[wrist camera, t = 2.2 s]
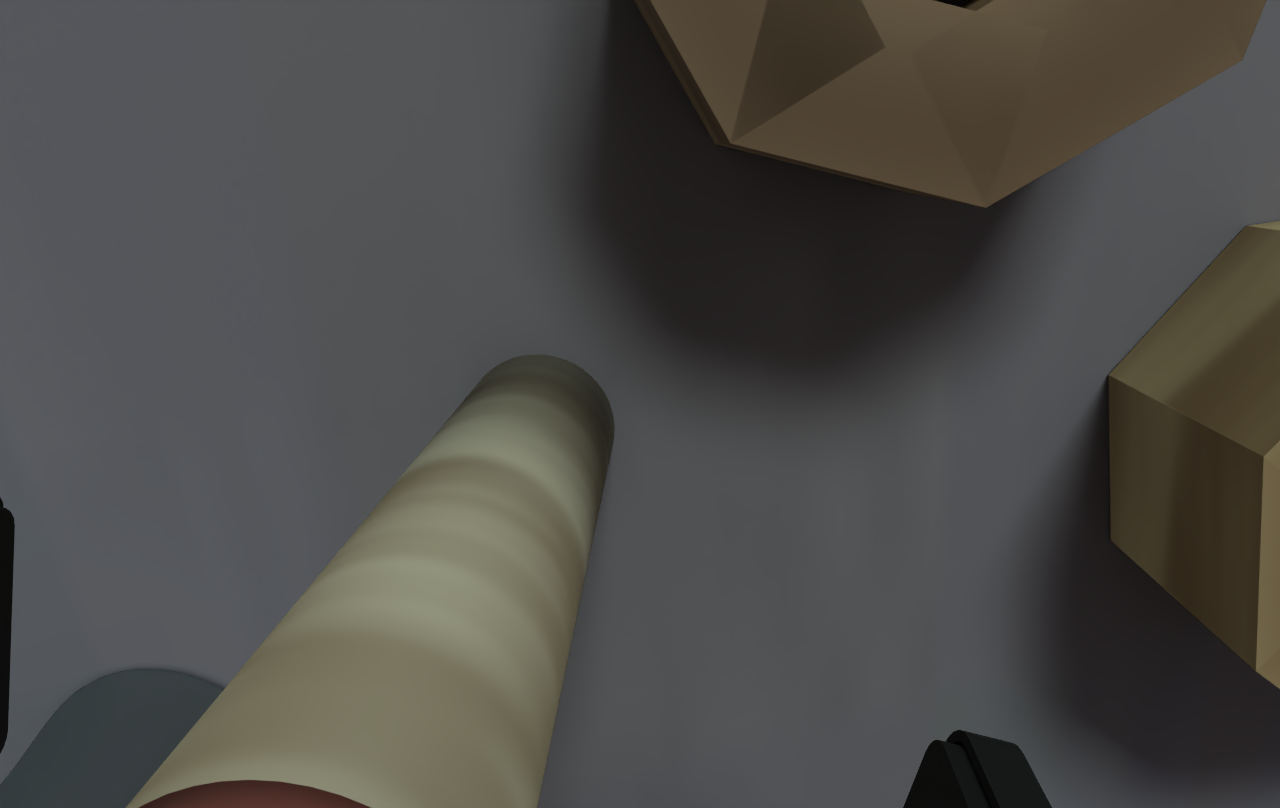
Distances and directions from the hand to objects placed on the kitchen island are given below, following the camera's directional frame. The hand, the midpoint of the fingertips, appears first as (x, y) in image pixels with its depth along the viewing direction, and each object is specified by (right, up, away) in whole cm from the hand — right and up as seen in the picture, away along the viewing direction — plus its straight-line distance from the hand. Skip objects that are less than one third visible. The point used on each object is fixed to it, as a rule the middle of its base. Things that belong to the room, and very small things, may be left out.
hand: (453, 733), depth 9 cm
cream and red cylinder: (0, +3, +10) cm, 11 cm away
